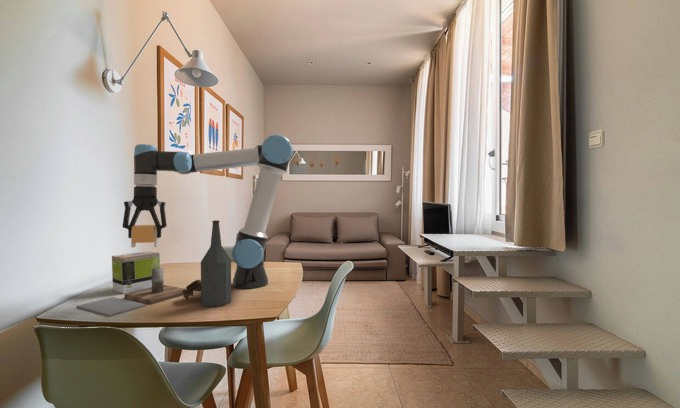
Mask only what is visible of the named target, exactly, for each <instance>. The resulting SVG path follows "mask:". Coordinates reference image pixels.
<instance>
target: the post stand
mask: <svg viewBox="0 0 680 408" xmlns="http://www.w3.org/2000/svg"><path fill="white" fill-rule="evenodd" d="M184 289H186V288H183V287H179V286H174V285H173V286H171V285H166V284H164V268H163V267H160V268H154V269H152V288H147V289H143V290H138V291H134V292H129V293H125V294H124V297H123V299H125V300H129V301H133V302H138V301H139V302H138V303H142V304H146V305H147V304H148V305H154V304H157V303H161V302H164V301H168V300H171V299H174V298H179V297H181V296H184V293H183V292H182V291H183V290H184ZM186 290H187V289H186Z"/></svg>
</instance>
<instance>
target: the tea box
mask: <svg viewBox="0 0 680 408" xmlns="http://www.w3.org/2000/svg"><path fill="white" fill-rule="evenodd" d="M160 262H161V258H160V252H157V251H149V250H146V251H140V252H131V253H123V254H117V255H116V254H115V255H111V267H112V270H111V271H112V276H111V277H112V289H113V291H114V292H117V293H120V294H128V293H132V292H136V291H140V290H144V289H149V288H152V269H154V268H161V263H160Z"/></svg>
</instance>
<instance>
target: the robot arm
mask: <svg viewBox="0 0 680 408" xmlns="http://www.w3.org/2000/svg"><path fill="white" fill-rule="evenodd" d="M292 156H293V146H292V142H290V140H289V139H288V138H287V137H286V136H284V135H282V134H272V135H270V136H267V137H266V138H265V139H264V140H263V142H262V144H258V145H256V146H255V147H253V148H252V147H251V148H242V149H233V150H225V151H223V150H222V151H213V152H205V153H204V152H203V153H196V154H190V153H189V152H185V151H170V150H169V151H167V150H165V151H162V150H158V147H157V146H156V145H153V144H145V143H144V144H143V143H141V144H139V143H138V144H136V145H135V146H134V152H133V164H134V165H133V185H135V186H134V187H133V198H132V200H130V201H129V200H128V201H123V206H124V214H123V220H122V228H124V229H126V230H128V235H127V237H128V239H131V240H130V241H131V242H130V243H131V244H130V245H131V246H130V247H131V248H136V244H137V243H132V226H136V224H137V221H138V219H139V216H140V214H141V212H142V211H147V212H149V213H150V215H151V218H152V220H153V223H154V225H156V228H157V229H155V242H153V243H154V245H153V246H154V248H156V247H159V239H160V238H161V237H162V229H164V228H166V227H167V226H168V225H167V217H166V210H165V208H166V205H167V204H166V203H167V202H165V201H159V200H158V197H157V195H158V193H157V192H158V187H156V186H157V185H158V171H159V172H174V173H178V174H181V175H188V174H193V173H200V172H209V171H217V170H218V171H219V170H226V169H227V170H229V169H235V168H236V169H237V168H245V167H255V166H256V167H258V168H259V174H258V177H257V181H256V184H255V188H254V191H253V195H252V197H251V201H250V205H249V208H248V212H247V217H246V220H245V223H244V226H243V227H241V228H240V229H239V230H238V232H237V234H236V238H235V243H234V245H233V247H232V249H231V250H232V251H231V256H232V260H233V262H234V263H235V264H236V268H235V272H234V275H233V276H234V277H232V287H234V288H237V289H255V288H261V287H265V286H267V285H268V284H269V278H268V275H267V272H266V269H265V255H264V254H265V253H264V252H265V248H266V245H267V241H268V239H269V238H268V235H267V233H266V232H267V227H268V224H269V220H270V217H271V213H272V210H273V207H274V202H275V199H276V196H277V192H278V189H279V185H280V181H281V178H282V175H285V174H286V173H287V170H288V167H289V163H290V160H291V158H292ZM133 205H134V206H135V210H134V213H133V216H132V218H131V220H130V217H131V216H130V215H131V210H132V208H131V207H132V206H133ZM157 205H158V207H159V213H160V219H159V217H158V215H157V213H156V209H155V207H156V206H157Z"/></svg>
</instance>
